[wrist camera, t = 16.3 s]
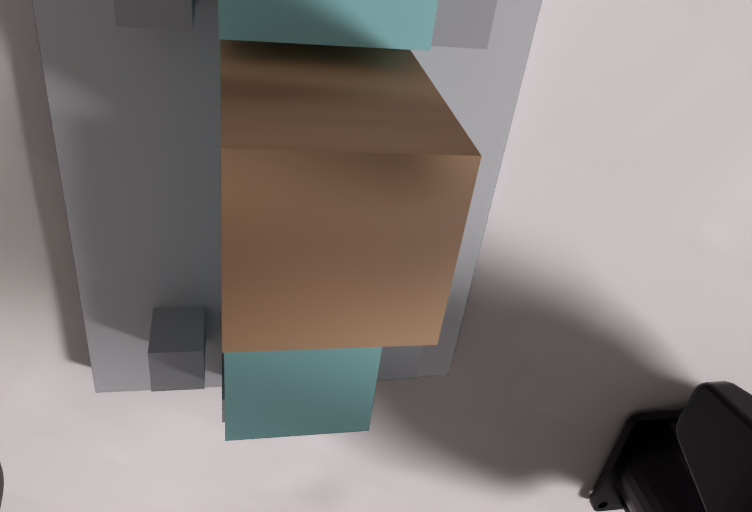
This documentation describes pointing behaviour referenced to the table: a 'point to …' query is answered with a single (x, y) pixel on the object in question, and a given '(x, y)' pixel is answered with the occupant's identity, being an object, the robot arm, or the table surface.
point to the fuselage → (312, 366)
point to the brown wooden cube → (337, 197)
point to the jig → (217, 172)
